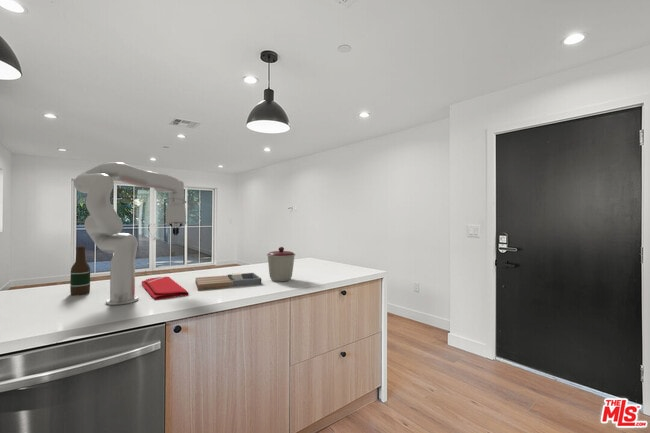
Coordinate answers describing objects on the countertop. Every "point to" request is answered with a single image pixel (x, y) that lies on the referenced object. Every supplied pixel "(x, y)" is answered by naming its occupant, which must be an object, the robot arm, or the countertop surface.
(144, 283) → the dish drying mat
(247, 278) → the tray
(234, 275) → the tile
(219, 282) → the walnut board
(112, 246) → the robot arm
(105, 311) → the countertop surface
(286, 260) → the canister
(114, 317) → the countertop surface
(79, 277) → the beer bottle
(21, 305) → the countertop surface
